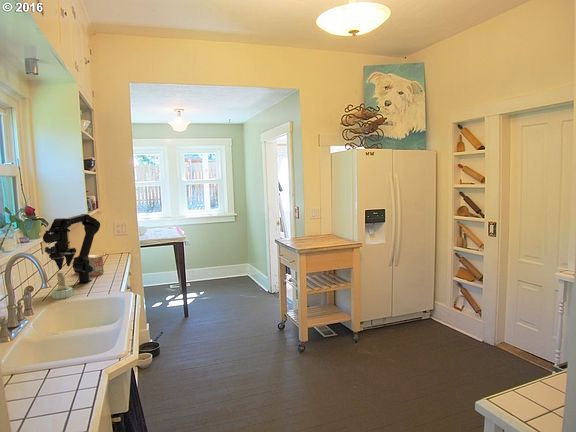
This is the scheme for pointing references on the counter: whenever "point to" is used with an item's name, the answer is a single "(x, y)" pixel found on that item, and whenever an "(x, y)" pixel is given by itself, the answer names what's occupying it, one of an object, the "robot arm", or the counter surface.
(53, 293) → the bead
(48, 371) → the counter surface
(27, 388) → the counter surface
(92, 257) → the beige printed box
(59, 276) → the peg
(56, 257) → the robot arm
